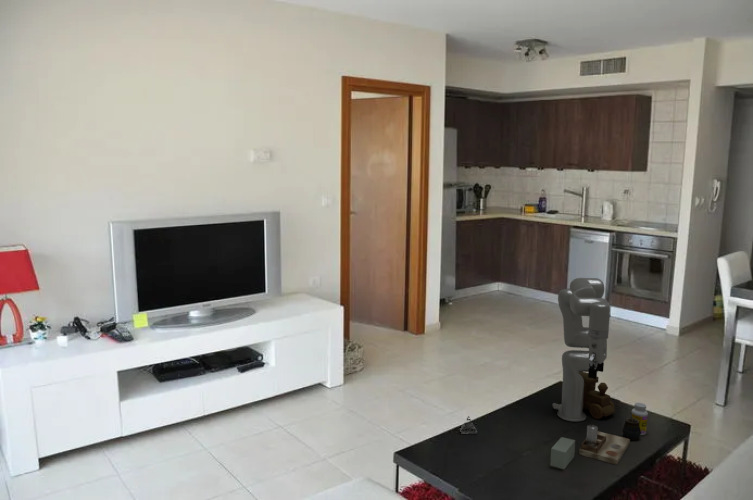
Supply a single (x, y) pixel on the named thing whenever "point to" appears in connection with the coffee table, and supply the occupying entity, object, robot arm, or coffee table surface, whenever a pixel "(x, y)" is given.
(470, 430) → the house of cards
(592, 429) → the peg
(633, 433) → the mate gourd
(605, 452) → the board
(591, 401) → the wooden toy train
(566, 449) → the housing
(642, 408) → the supplement bottle
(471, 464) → the coffee table surface
